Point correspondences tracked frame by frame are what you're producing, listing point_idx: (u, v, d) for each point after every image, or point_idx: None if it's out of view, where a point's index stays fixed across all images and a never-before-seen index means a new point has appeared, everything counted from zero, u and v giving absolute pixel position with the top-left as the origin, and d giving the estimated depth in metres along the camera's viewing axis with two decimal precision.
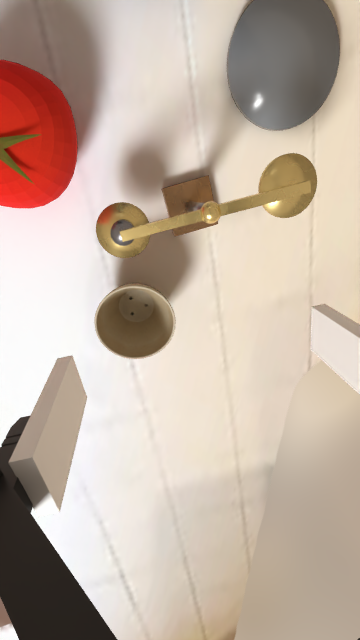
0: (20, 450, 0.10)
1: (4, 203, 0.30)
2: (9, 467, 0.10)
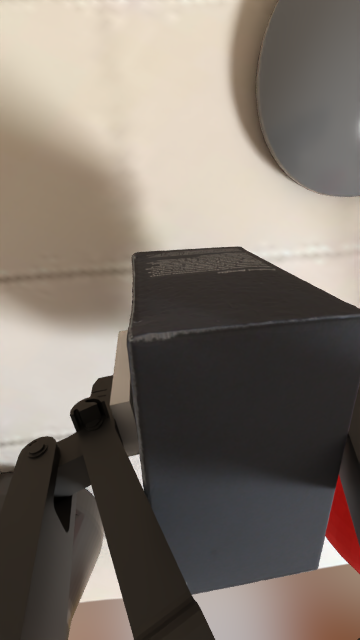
0: (116, 396, 0.12)
1: None
2: None
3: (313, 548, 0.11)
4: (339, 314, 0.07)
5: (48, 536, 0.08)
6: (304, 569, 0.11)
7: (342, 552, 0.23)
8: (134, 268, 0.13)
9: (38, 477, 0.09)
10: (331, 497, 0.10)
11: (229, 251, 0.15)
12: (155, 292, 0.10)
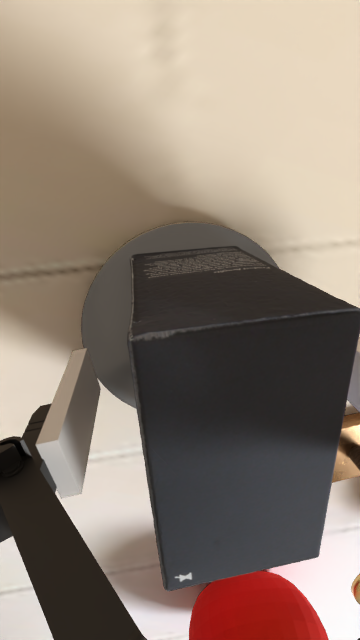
0: (46, 434, 0.10)
1: None
2: (34, 450, 0.11)
3: (313, 536, 0.11)
4: (329, 309, 0.08)
5: None
6: (305, 557, 0.11)
7: None
8: (132, 270, 0.13)
9: None
10: (329, 486, 0.10)
11: (225, 250, 0.16)
12: (154, 293, 0.10)
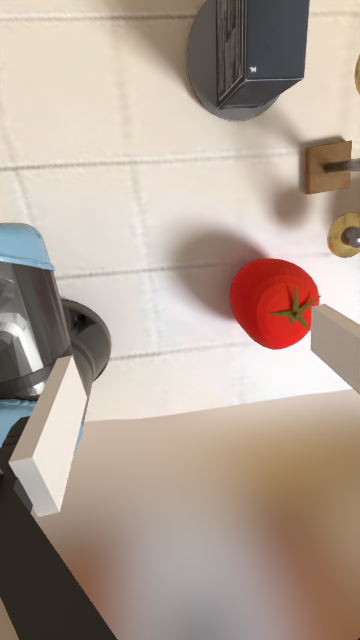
0: (20, 450, 0.10)
1: None
2: (9, 467, 0.10)
3: (301, 59, 0.29)
4: None
5: None
6: (298, 75, 0.29)
7: (247, 323, 0.42)
8: None
9: None
10: (306, 25, 0.28)
11: None
12: None
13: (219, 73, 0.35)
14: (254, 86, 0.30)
